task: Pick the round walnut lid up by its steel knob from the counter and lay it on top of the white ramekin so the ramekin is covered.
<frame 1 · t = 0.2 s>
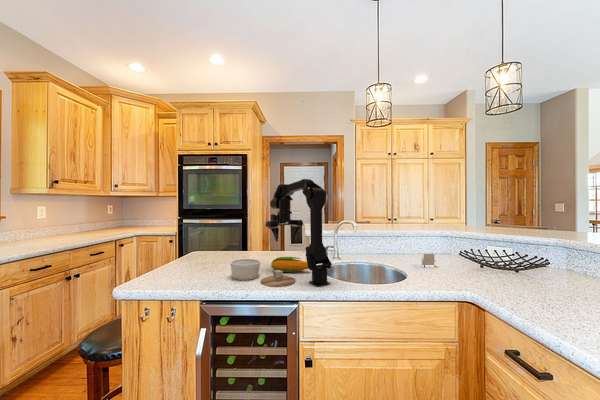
hand: (284, 240, 134), 14 cm above the counter, tool pointing down, fingers open, 9 cm apart
ramekin: (245, 277, 121), on the counter
corn: (291, 272, 130), on the counter
lid: (278, 282, 114), on the counter
architectural model: (427, 268, 140), on the counter
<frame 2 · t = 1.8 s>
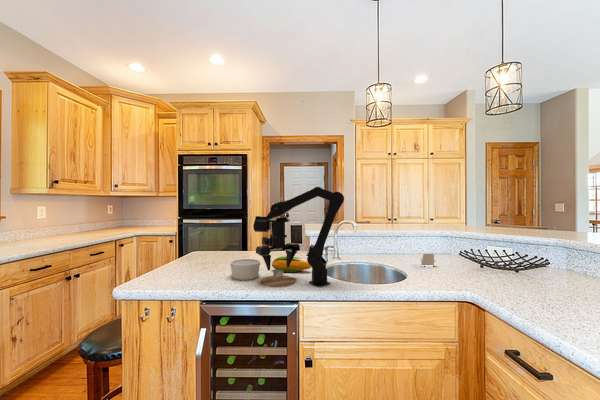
hand: (278, 268, 114), 5 cm above the counter, tool pointing down, fingers open, 9 cm apart
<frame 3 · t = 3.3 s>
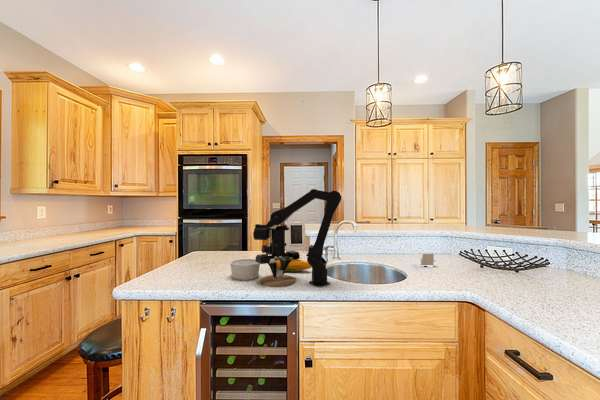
hand: (278, 277, 114), 2 cm above the counter, tool pointing down, fingers closed on lid, 3 cm apart
lid: (278, 281, 114), on the counter, touching gripper
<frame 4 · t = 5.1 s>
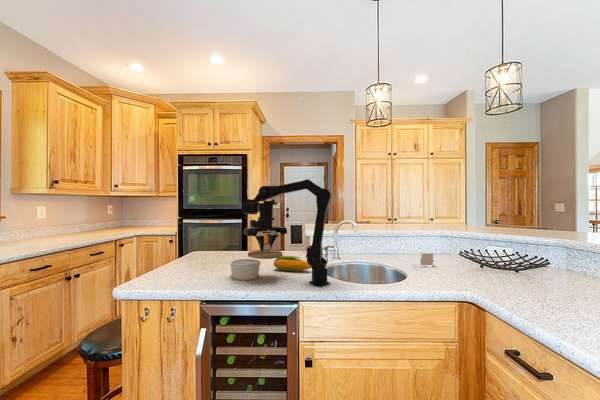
hand: (265, 250, 117), 13 cm above the counter, tool pointing down, fingers closed on lid, 3 cm apart
lid: (265, 255, 117), point 11 cm above the counter, touching gripper
when the fingers open (10 cm above the counter, at t = 6.7 s): lid drops 2 cm, resting on ramekin.
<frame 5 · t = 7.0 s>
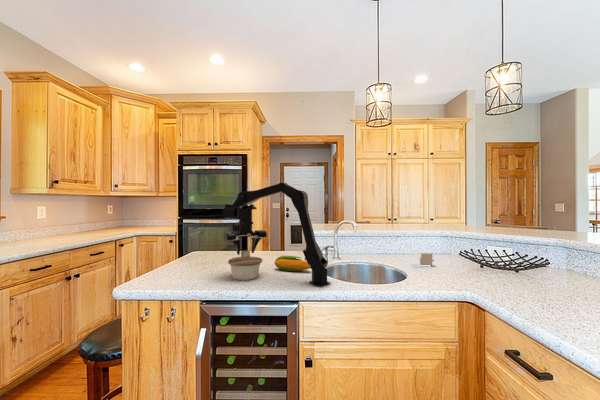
hand: (245, 254, 121), 10 cm above the counter, tool pointing down, fingers open, 6 cm apart
ramekin: (245, 277, 121), on the counter, touching lid
lid: (245, 261, 121), point 7 cm above the counter, touching ramekin
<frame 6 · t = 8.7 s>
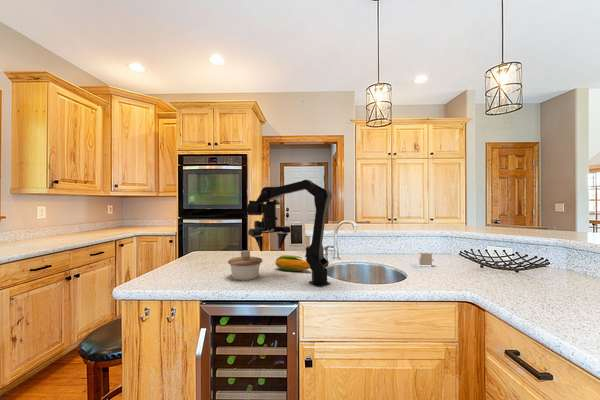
hand: (270, 250, 120), 12 cm above the counter, tool pointing down, fingers open, 9 cm apart
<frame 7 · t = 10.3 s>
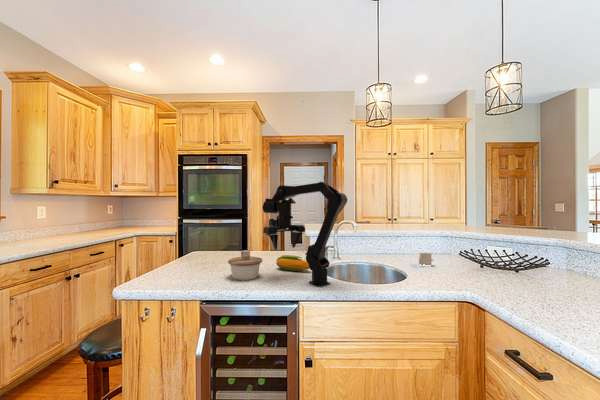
hand: (284, 248, 120), 13 cm above the counter, tool pointing down, fingers open, 9 cm apart
at the end: lid 0.1 cm from the ramekin (horizontally); lid point 6.8 cm above the counter; lid tilted 0° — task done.
